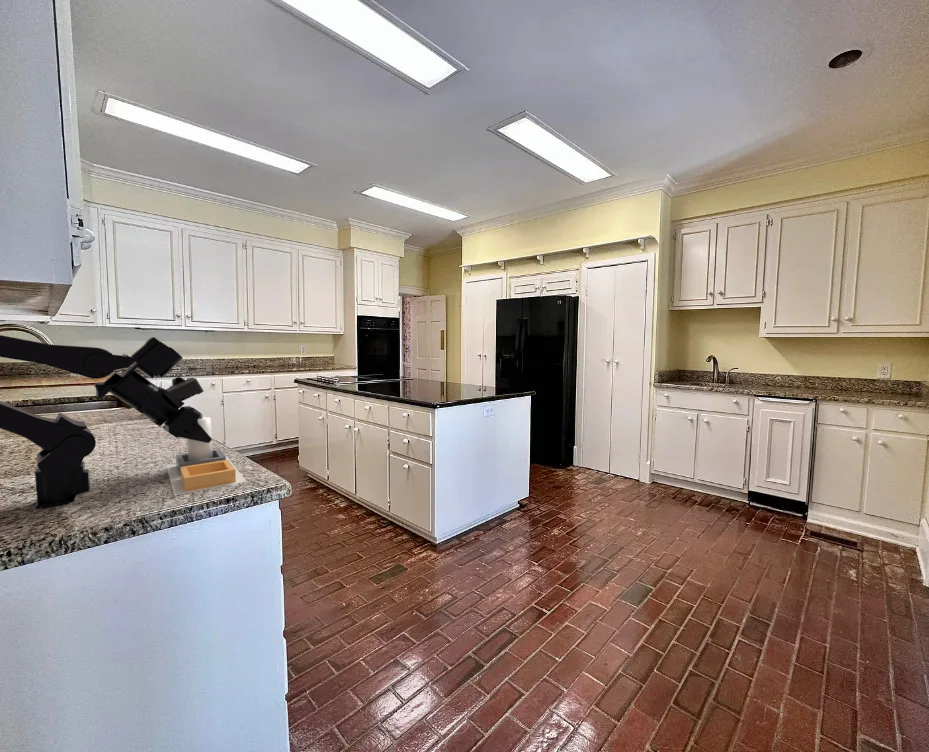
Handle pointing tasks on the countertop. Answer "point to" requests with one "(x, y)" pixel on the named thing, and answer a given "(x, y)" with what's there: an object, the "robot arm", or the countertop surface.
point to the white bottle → (198, 448)
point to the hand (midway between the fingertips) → (206, 439)
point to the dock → (202, 473)
